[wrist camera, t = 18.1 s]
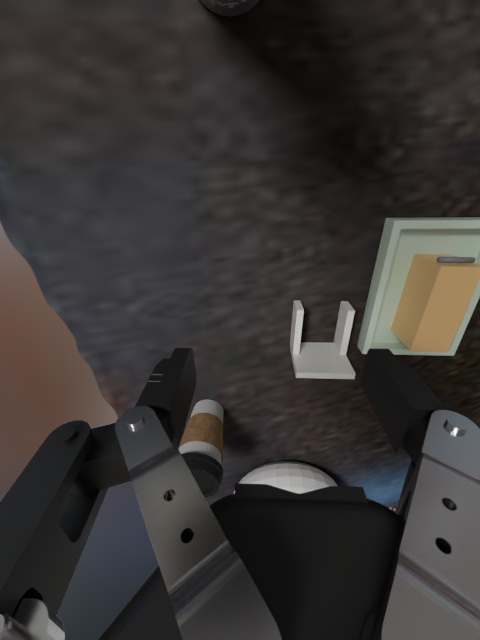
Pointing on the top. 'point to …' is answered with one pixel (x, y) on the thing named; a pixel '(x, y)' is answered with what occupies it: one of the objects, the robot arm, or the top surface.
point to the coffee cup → (204, 445)
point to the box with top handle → (434, 300)
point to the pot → (289, 476)
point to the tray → (393, 267)
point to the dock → (322, 348)
